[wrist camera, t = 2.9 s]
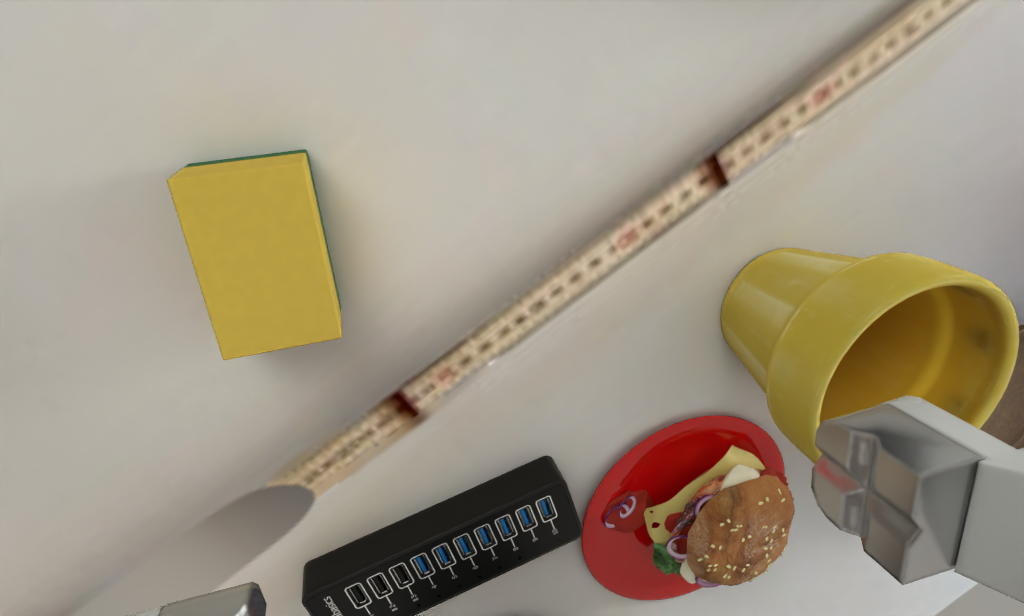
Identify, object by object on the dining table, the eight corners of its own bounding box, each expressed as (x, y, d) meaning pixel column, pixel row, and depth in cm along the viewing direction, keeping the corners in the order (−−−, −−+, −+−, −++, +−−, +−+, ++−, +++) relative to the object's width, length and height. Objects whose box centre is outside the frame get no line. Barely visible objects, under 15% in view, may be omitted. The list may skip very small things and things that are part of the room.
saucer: (1039, 258, 39) (1087, 272, 36) (1086, 392, 45) (1129, 411, 43) (861, 414, 39) (896, 438, 37) (933, 523, 46) (966, 549, 44)
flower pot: (704, 414, 36) (825, 529, 27) (671, 259, 31) (803, 338, 22) (854, 344, 37) (1016, 433, 28) (843, 186, 32) (1032, 233, 24)
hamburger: (732, 368, 35) (804, 424, 30) (808, 505, 41) (879, 572, 36) (537, 513, 35) (574, 594, 30) (642, 628, 41) (689, 712, 36)
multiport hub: (570, 508, 36) (585, 536, 34) (335, 617, 34) (336, 653, 32) (550, 453, 34) (564, 478, 32) (300, 565, 32) (298, 599, 30)
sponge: (187, 163, 24) (166, 179, 21) (306, 149, 25) (303, 162, 22) (235, 325, 27) (223, 361, 23) (340, 306, 27) (342, 338, 24)
